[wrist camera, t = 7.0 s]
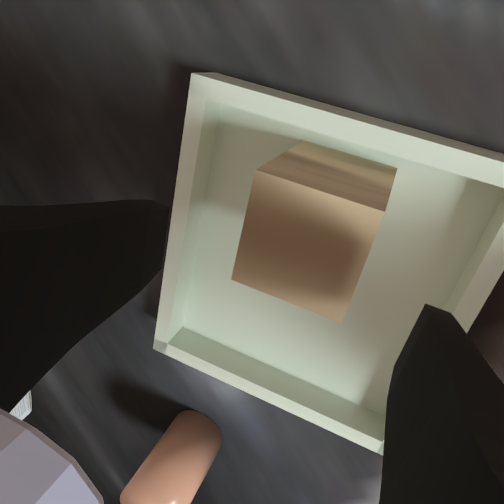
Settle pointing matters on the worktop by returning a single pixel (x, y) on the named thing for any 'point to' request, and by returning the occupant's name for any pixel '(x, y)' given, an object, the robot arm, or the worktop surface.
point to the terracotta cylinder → (176, 462)
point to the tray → (374, 271)
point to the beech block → (312, 226)
